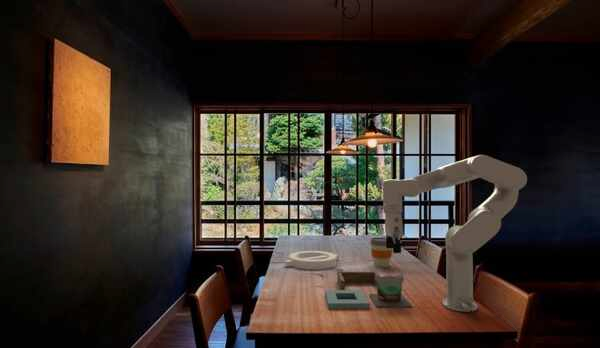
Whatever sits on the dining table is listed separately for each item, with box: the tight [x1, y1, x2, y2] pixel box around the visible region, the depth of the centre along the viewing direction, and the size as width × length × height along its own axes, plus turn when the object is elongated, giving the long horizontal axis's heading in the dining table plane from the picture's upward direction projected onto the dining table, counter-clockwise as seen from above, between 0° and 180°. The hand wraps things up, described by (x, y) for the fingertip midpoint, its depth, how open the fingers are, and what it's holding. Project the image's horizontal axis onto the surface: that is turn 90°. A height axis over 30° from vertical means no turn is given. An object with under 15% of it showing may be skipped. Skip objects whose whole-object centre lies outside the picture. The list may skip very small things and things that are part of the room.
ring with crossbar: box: [284, 250, 340, 270], centre depth 207 cm, size 28×28×5 cm
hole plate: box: [324, 289, 371, 309], centre depth 143 cm, size 16×16×2 cm
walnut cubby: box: [336, 271, 381, 290], centre depth 162 cm, size 16×19×5 cm
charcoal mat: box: [369, 293, 413, 308], centre depth 143 cm, size 14×14×1 cm
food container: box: [375, 273, 405, 303], centre depth 142 cm, size 12×6×10 cm, turn 102°
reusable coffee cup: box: [370, 237, 393, 268], centre depth 202 cm, size 13×13×15 cm
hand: (393, 250), depth 144 cm, fingers open, 9 cm apart
